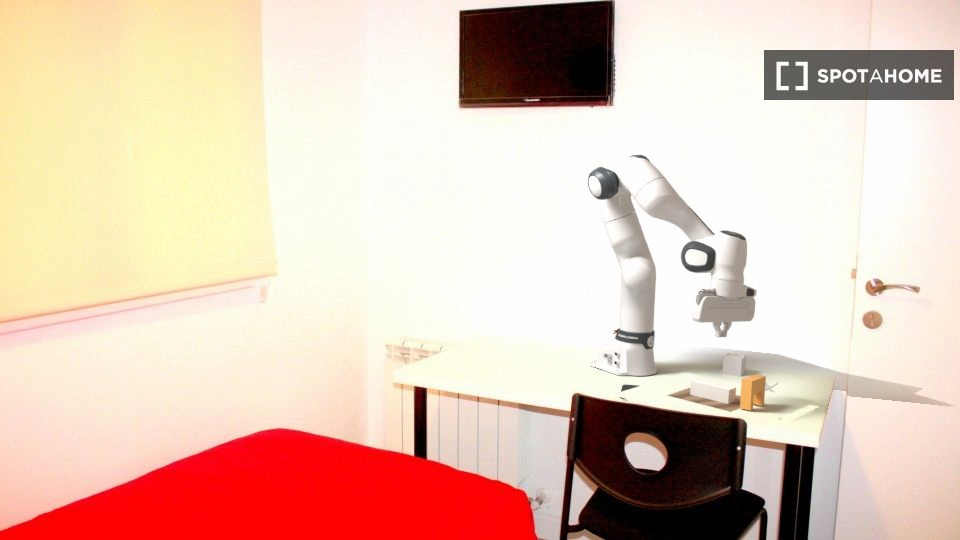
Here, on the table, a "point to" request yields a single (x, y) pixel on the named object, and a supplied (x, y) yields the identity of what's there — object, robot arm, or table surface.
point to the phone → (627, 388)
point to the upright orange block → (752, 391)
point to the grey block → (734, 364)
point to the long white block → (713, 391)
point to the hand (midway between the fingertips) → (720, 336)
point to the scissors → (769, 387)
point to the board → (707, 400)
